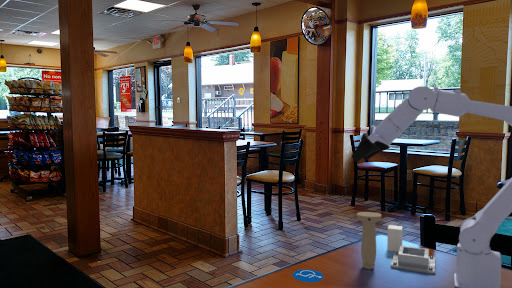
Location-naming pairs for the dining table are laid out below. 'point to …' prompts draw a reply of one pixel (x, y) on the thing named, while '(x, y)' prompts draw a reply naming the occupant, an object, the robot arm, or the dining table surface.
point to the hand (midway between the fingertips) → (358, 158)
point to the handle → (368, 238)
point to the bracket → (414, 260)
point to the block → (394, 238)
